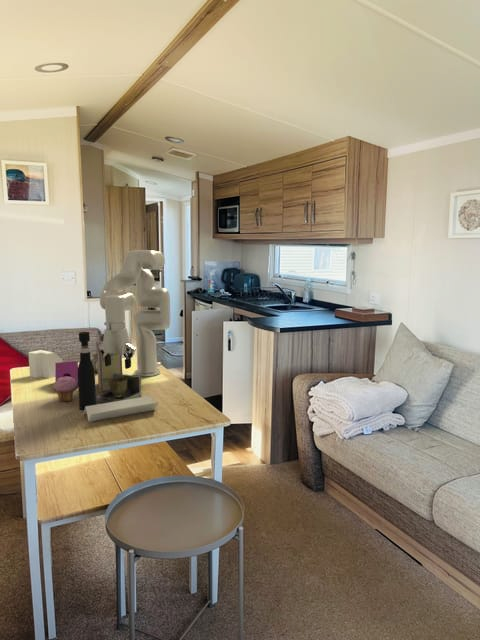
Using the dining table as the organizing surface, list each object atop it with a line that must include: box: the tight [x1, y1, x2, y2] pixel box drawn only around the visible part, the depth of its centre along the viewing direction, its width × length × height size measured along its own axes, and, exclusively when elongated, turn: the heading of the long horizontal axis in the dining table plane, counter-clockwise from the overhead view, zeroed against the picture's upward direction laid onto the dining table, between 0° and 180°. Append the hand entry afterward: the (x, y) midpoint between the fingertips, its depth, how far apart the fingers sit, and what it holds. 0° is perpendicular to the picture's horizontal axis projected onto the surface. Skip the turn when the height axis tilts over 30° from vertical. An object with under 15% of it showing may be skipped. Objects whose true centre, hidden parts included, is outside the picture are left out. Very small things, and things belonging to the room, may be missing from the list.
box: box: [95, 340, 123, 395], centre depth 214 cm, size 17×9×20 cm, turn 21°
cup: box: [108, 376, 127, 398], centre depth 197 cm, size 8×7×8 cm
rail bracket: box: [96, 373, 142, 404], centre depth 197 cm, size 13×13×9 cm
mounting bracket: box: [54, 360, 79, 392], centre depth 218 cm, size 10×9×19 cm
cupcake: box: [53, 376, 77, 402], centre depth 197 cm, size 9×9×10 cm
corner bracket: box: [28, 349, 64, 379], centre depth 235 cm, size 11×11×12 cm
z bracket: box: [83, 395, 159, 422], centre depth 182 cm, size 12×25×6 cm
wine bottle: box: [77, 331, 97, 412], centre depth 186 cm, size 6×6×30 cm
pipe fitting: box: [91, 351, 98, 373], centre depth 244 cm, size 12×8×10 cm, turn 32°
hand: (118, 366), depth 197 cm, fingers open, 9 cm apart
